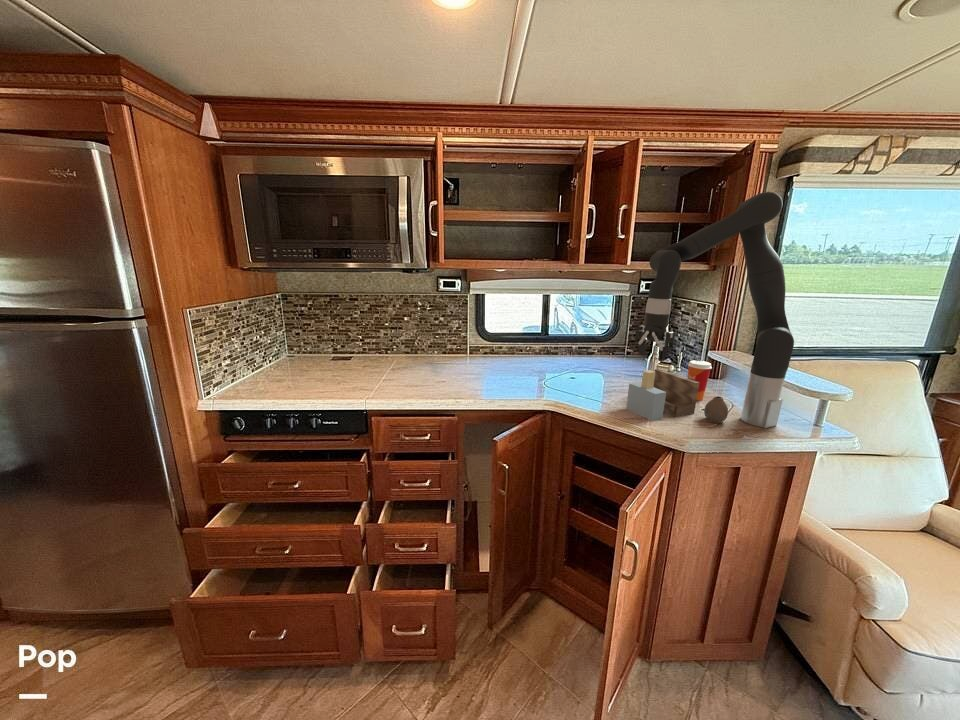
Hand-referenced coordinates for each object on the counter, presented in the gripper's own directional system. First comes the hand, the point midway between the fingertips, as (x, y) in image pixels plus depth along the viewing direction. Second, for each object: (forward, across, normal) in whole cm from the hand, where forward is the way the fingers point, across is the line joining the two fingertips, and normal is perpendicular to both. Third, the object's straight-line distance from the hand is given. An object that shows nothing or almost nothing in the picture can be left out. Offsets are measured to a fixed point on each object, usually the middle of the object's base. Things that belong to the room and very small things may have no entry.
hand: (651, 357), depth 127 cm
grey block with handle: (+21, 0, 0) cm, 21 cm away
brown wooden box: (+21, +2, -12) cm, 24 cm away
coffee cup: (+21, +4, -31) cm, 38 cm away
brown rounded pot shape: (+21, -14, -18) cm, 31 cm away
